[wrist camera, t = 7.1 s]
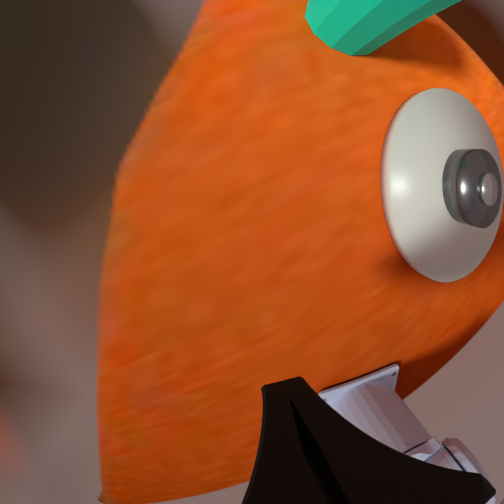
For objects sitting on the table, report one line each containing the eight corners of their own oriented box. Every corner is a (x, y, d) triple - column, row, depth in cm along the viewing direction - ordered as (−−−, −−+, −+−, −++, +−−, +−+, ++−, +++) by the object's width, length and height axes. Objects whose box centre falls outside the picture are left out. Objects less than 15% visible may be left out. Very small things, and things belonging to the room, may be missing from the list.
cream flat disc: (493, 256, 21) (501, 259, 20) (384, 299, 19) (392, 306, 18) (484, 103, 16) (492, 102, 15) (361, 80, 15) (370, 75, 14)
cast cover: (482, 218, 18) (506, 224, 15) (443, 227, 17) (470, 235, 14) (478, 150, 16) (503, 150, 13) (437, 148, 16) (466, 147, 13)
